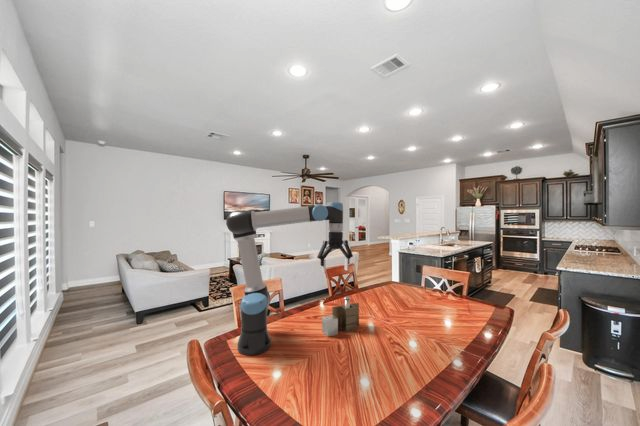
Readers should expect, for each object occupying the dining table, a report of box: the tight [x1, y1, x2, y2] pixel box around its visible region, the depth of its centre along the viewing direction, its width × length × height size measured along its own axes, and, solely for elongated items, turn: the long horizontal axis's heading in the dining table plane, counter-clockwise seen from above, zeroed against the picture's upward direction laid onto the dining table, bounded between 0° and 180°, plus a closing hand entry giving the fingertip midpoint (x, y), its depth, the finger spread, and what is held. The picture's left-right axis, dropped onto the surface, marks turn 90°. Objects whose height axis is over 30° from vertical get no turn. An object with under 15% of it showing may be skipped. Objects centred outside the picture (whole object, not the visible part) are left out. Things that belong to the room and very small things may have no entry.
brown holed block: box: [340, 302, 360, 333], centre depth 143 cm, size 11×6×12 cm, turn 114°
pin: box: [343, 295, 351, 308], centre depth 142 cm, size 3×3×17 cm
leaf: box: [321, 305, 356, 338], centre depth 139 cm, size 17×6×12 cm, turn 114°
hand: (335, 271), depth 141 cm, fingers open, 13 cm apart
